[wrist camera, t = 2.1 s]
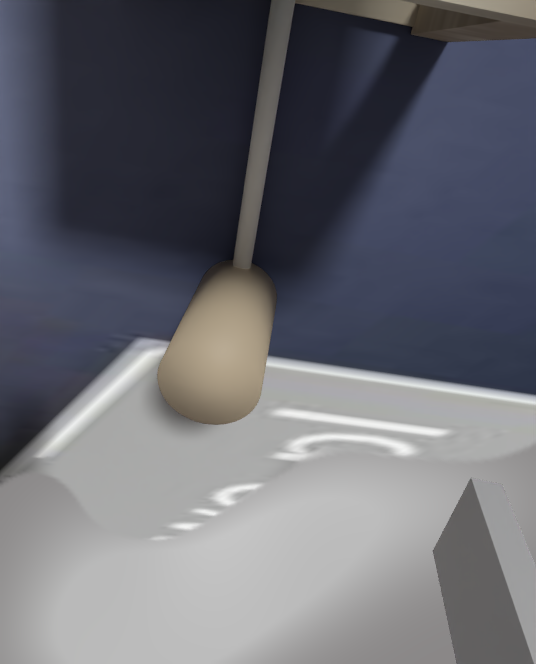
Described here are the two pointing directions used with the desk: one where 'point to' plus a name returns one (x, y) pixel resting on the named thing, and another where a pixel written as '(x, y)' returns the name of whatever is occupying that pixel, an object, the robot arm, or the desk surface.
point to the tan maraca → (233, 283)
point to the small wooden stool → (446, 17)
